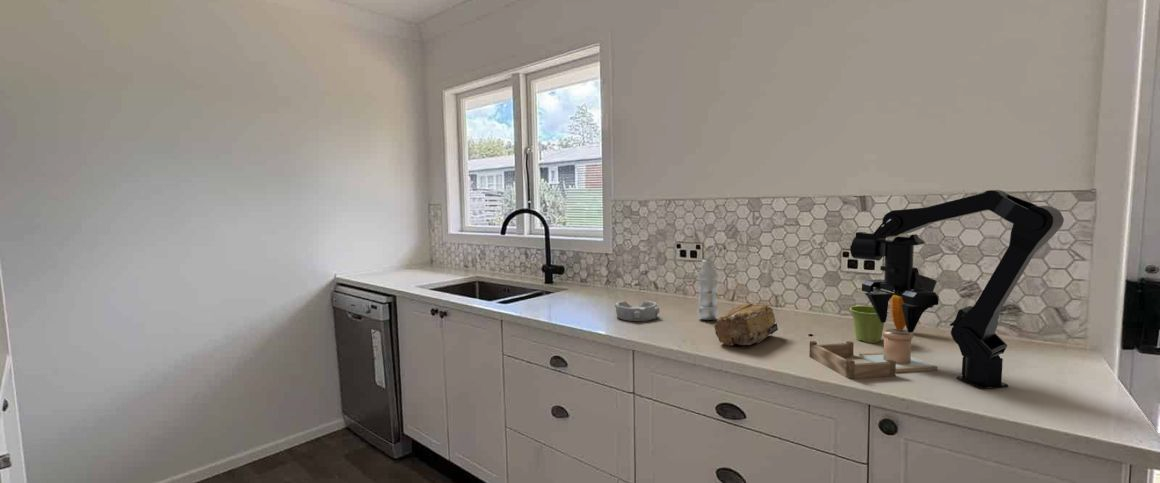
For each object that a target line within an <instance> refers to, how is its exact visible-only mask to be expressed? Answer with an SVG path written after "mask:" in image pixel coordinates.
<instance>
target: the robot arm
mask: <svg viewBox="0 0 1160 483" xmlns="http://www.w3.org/2000/svg"><path fill="white" fill-rule="evenodd" d="M987 211H990V212H993V213H994V214H995V215H997V216H998V217H1000V218H1002V219H1003V220H1005V221H1007V222H1009V223H1011V224H1012V227H1011V231H1010V237H1009V244H1008V247H1007V249H1006V250H1005V252H1004V254H1003V256H1002V257H1001V259H1000V261H999V263H998V264H997V266H996V268H995V270H994V272H993V273H992V275H991V276H990V279H989V280H988V281H987V283H986V285H985V287H984V288H983V290H982V292H981V294H980V295H979V297H978V299H977V300H976V302H975V304H974V305H973V306H972V305H968V306H965V307H963V308H960V309H958V311H957V312H956V316H955V319H954V320H953V322H951V323H950V324H949V326H951V331H950V335H951V337H952V339H953V341H954V342H955V344H957V346H958V348H959V350H960V353H961V356H962V361H961V363H962V365H961V375H956V376H955V379H956V380H959V381H961V382H964V383H966V384H969V385H971V386H974V387H976V388H979V389H996V388H1008V387H1009V384H1008V383H1006V382H1003V381H1002V380H1003V361H1004V360H1003V359H1004V358H1002V357H1000V355H1001V354H1004V353H1005V351H1006V349H1007V347H1008V344H1007V343H1006V342H1005V341H1004V340H1003V339H1002V337H1000V336H999V335H998V334H997V333H996V331H997V328H998V325H999V318H1000V311H1001V310H1002V308H1003V306H1004V305H1005V303H1006V301H1008V298H1009V297H1010V295H1011V294H1012V292H1013V290H1014V288H1015V287H1016V285H1017V283H1018V282H1019V280H1020V279H1021V277H1022V275H1023V274H1024V272H1025V271H1026V269H1027V267H1028V265H1029V264H1030V262H1031V260H1032V259H1033V258H1034V256H1035V254H1036V253H1037V252H1038V251H1039V250H1040V249H1041V248H1042V247H1044V246H1045V244H1046V243H1048V242H1049V241H1050V240H1051V239H1052V238H1053V237H1054V236H1055V235H1056V233H1058V231H1059V230H1060V229H1061V228H1062V226H1063V224H1064V221H1065V219H1064V216H1063V214H1062V212H1061V211H1060V210H1059V209H1058V208H1056V207H1054V206H1050V205H1037V204H1035V203H1033V202H1030V201H1027V200H1024V199H1022V198H1019V197H1016V196H1013V195H1012V194H1008V193H1006V192H1005V191H1003V190H999V189H992V190H991V189H990V190H989V189H988V190H985V191H983V192H981V193H978V194H974V195H969V196H966V197H961V198H958V199H957V198H956V199H953V200H951V201H945V202H942V203H938V204H933V205H930V206H926V207H917V208H908V209H907V208H905V209H895V210H890V211H888V212H886V213H885V214H884V216H883V217H882V221H881V222H882V223H880V224H879V226H878V227H877V229H876V230H875V231H874V232H872V233H871V232H864V231H858V232H855V237H854V238H853V239H852V240H851V241H852V242H851V245H850V246H849V249H850V256H851V257H852V258H853V259H855V260H867V261H874V262H875V261H877V262H879V261H880V260H882V259H883V258H884V265H880V269H879V270H880V271H883V274H884V275H883V276H884V279H882V278H881V279H864V281H863V282H862V283H861V291H862V292H864V295H865V296H866V297H867V298H868V301H869V302H870V304H871V305H872V306H873V307H874V309H875V311H876V313H877V315H878V318H879V320H880V322H882V323H884V324H885V323H886V322H887V317H888V314H887V311H889V310H888V309H889V303H890V302H889V301H891V297H892V296H893V295H897V296H900V297H902V300H903V301H904V303H906V304H901V305H902V310H903V314H904V319H905V324H906V325H905V328H906V330H907V331H908V332H909V333H910V332H912V333H914V331H915V329H916V328H917V324H918V323H919V321H920V318H921V317H922V315H923V313H924V312H925V311H926V310H928V309H930V308H934V306H938V305H939V303H940V302H939V301H940V300H939V299H940V296H939V295H938V294H937V292H936V291H935V292H934V290H935V288H936V285H937V282H938V280H937V279H933V278H930V277H927V276H925V275H922V274H920V273H919V269H918V267H914V251H915V250H914V249H915V247H914V246H920V245H924V244H925V241H924V240H923V239H921V237H920V236H918V234H917V233H915V234H911V233H914V232H916V231H919V230H921V229H924V228H926V227H928V226H930V225H932V224H935V223H938V222H942V221H946V220H950V219H955V218H960V217H964V216H969V215H974V214H978V213H982V212H987ZM906 234H911V235H910V236H899V235H906ZM893 237H894V238H893ZM887 238H893V239H887ZM901 292H902V293H901Z"/></svg>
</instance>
